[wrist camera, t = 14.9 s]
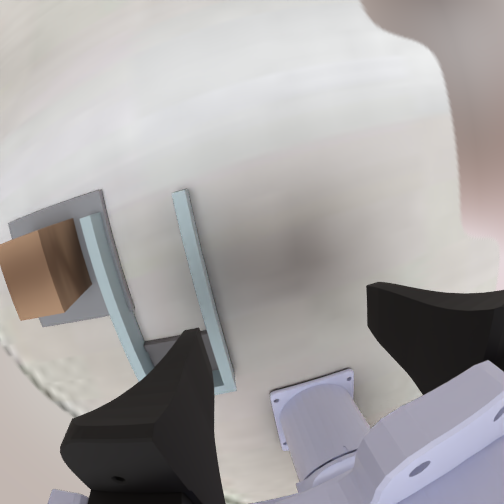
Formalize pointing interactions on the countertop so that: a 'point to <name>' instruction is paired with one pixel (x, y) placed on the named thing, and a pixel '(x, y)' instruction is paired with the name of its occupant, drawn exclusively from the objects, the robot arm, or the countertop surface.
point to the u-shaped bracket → (124, 321)
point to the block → (45, 270)
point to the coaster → (78, 208)
